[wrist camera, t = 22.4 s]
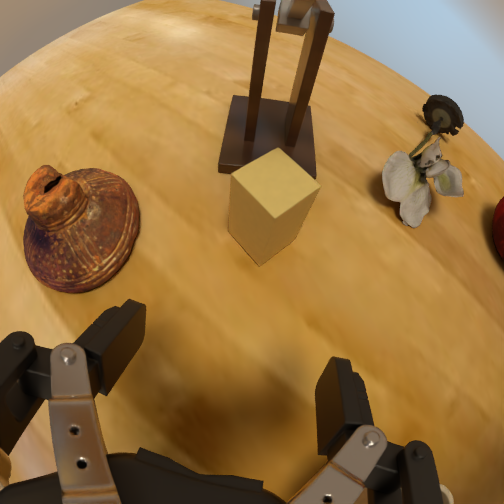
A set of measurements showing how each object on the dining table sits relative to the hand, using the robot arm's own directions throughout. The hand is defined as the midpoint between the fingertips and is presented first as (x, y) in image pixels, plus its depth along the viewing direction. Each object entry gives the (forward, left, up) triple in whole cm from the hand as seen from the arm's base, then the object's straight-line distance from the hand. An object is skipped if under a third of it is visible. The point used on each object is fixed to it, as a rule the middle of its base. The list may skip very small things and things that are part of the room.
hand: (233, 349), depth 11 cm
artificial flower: (-21, -23, -9) cm, 32 cm away
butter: (-2, -10, -9) cm, 14 cm away
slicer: (-2, -22, -9) cm, 24 cm away
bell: (+14, -9, -9) cm, 19 cm away
